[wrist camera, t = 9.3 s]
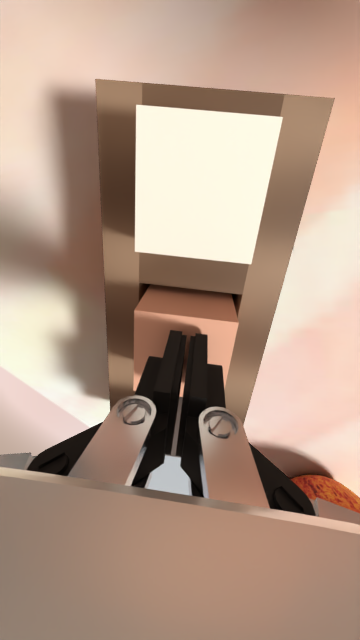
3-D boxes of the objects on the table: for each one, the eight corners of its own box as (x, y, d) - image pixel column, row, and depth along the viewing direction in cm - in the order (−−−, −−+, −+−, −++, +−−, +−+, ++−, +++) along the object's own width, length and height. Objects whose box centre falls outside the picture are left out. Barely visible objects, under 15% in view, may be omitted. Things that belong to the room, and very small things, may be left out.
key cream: (161, 137, 12) (136, 104, 8) (254, 145, 12) (282, 116, 8) (157, 234, 14) (134, 251, 10) (237, 242, 14) (251, 264, 10)
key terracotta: (154, 277, 15) (134, 310, 11) (229, 285, 15) (238, 322, 11) (152, 340, 17) (133, 390, 13) (217, 348, 17) (221, 402, 13)
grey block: (146, 383, 17) (125, 449, 13) (212, 392, 17) (215, 462, 13) (144, 430, 19) (125, 501, 15) (203, 438, 19) (203, 513, 15)
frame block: (127, 113, 14) (94, 78, 10) (296, 127, 13) (336, 98, 9) (127, 404, 23) (111, 449, 19) (227, 418, 23) (232, 466, 19)
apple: (335, 441, 23) (420, 601, 14) (373, 495, 25) (465, 658, 16) (246, 473, 26) (267, 622, 17) (288, 518, 28) (326, 667, 19)
